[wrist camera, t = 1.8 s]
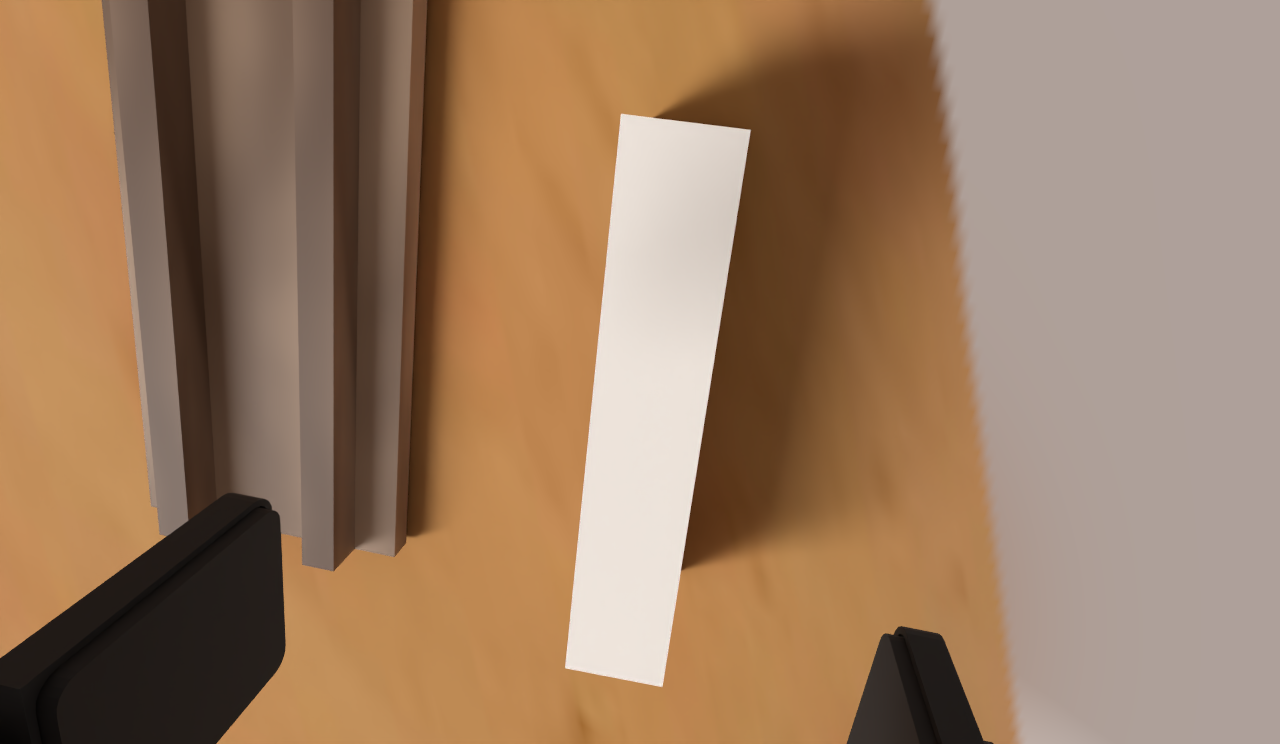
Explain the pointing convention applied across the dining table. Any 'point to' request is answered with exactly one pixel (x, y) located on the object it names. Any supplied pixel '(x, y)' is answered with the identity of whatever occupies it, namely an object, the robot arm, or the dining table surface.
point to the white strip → (651, 386)
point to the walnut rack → (274, 255)
